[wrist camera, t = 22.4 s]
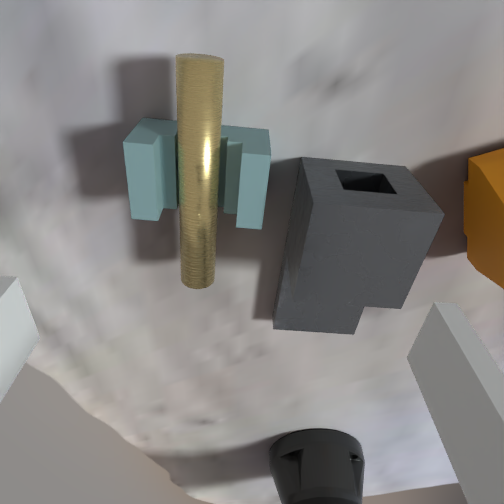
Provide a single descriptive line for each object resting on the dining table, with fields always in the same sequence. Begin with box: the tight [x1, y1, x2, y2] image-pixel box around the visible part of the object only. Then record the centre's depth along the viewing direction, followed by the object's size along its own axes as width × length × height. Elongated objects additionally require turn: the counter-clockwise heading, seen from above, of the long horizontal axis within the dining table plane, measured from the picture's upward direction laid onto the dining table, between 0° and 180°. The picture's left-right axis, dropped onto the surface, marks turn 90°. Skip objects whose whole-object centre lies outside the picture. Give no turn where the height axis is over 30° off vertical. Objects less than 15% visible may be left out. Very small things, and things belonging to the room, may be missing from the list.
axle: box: [176, 54, 224, 289], centre depth 28 cm, size 18×3×3 cm, turn 175°
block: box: [273, 157, 445, 335], centre depth 34 cm, size 19×9×8 cm, turn 175°
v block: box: [123, 118, 271, 229], centre depth 29 cm, size 6×10×6 cm, turn 85°
